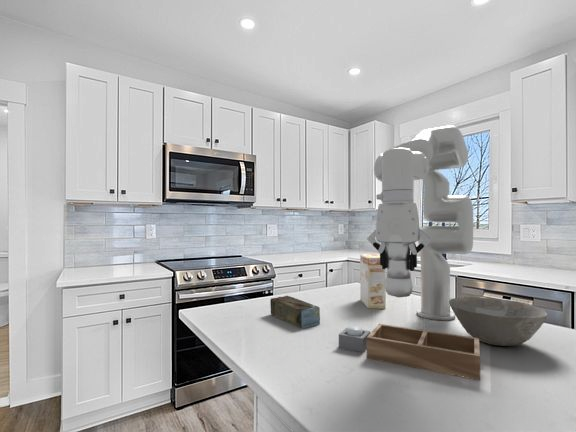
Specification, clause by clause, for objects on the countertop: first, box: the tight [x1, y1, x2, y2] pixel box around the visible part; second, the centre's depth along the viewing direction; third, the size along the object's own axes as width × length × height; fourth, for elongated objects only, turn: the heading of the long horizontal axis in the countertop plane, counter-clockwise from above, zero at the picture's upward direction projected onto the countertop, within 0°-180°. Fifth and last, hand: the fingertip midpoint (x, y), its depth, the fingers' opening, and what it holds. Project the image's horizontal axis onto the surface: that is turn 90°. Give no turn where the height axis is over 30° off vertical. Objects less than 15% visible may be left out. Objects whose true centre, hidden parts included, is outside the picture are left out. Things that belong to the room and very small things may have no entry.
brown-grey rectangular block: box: [269, 295, 321, 329], centre depth 114 cm, size 8×19×7 cm, turn 34°
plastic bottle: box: [385, 234, 414, 298], centre depth 85 cm, size 6×7×20 cm
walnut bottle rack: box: [366, 323, 481, 381], centre depth 82 cm, size 12×24×5 cm, turn 61°
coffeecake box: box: [359, 253, 387, 310], centre depth 136 cm, size 15×7×20 cm, turn 179°
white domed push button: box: [346, 325, 363, 337], centre depth 90 cm, size 4×4×2 cm
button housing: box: [338, 327, 371, 353], centre depth 90 cm, size 7×7×4 cm
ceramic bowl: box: [449, 296, 548, 347], centre depth 93 cm, size 22×23×10 cm
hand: (398, 268), depth 85 cm, fingers closed on plastic bottle, 6 cm apart
